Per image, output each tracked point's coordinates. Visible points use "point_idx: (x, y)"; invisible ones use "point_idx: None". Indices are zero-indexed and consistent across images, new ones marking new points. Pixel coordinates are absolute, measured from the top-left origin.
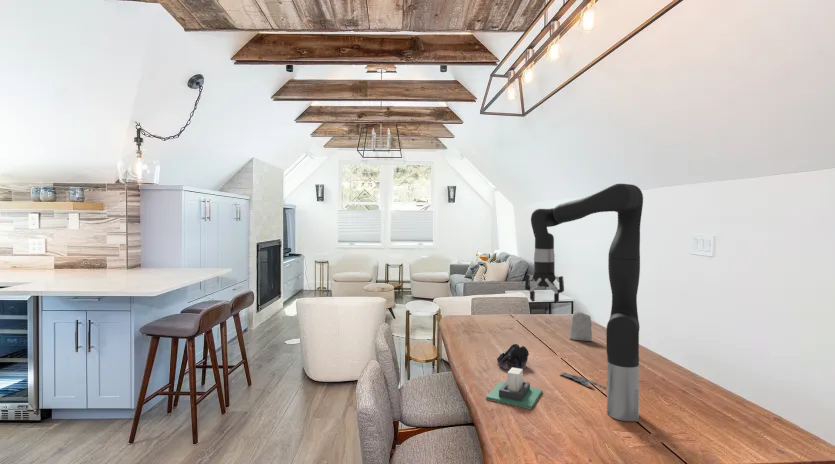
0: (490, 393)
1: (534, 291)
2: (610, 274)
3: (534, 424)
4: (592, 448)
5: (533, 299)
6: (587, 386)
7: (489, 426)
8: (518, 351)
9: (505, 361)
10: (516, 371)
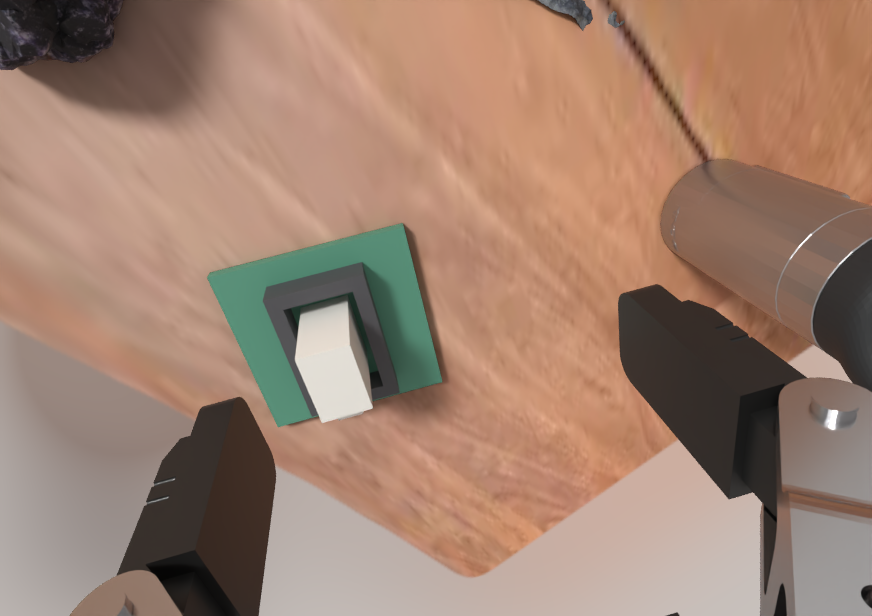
0: (269, 398)
1: (193, 556)
2: None
3: (488, 440)
4: (642, 436)
5: (269, 487)
6: (553, 5)
7: (399, 519)
8: None
9: (29, 58)
10: (345, 388)
